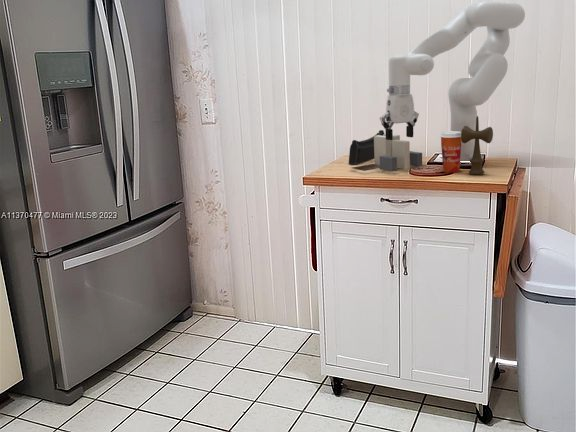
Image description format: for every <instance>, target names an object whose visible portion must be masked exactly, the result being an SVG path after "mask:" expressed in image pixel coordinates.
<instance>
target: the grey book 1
mask: <svg viewBox="0 0 576 432" xmlns="http://www.w3.org/2000/svg"><path fill="white" fill-rule="evenodd" d="M379 170H382V171H389V172H396V171H398V168H397V157H392V156H386V155H383V156H380V168H379Z"/></svg>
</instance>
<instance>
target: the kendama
mask: <svg viewBox="0 0 576 432" xmlns="http://www.w3.org/2000/svg"><path fill="white" fill-rule="evenodd" d="M479 124H480V122H479V115H477V117H476V131H474V130H472V129H471V128H469V127H468V126H464V127H463V129H462V131H461V140H462V142H463V143H467V142H468V141H470V140H472V139H475V145H474V152H473V157H472V159H471V160H470V162H471V165H470V169H469V171H468V174H469V175H473V176H479V175H480V176H481V175H484V174H485V170H484V169H483V164H484V162H485V160H484V158H483V159H482V157H481V156H482V153H481V146H480V145H481V144H480V140H481V141H483V142H484V143H486V144H491V143H492V141H493V138H494V131H493V130H494V129H493V127H492V126H488V127H486V128H484V129H481V130H480V125H479Z"/></svg>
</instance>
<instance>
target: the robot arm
mask: <svg viewBox="0 0 576 432" xmlns="http://www.w3.org/2000/svg"><path fill="white" fill-rule="evenodd" d="M525 17H526V13H525V9H524V8H523V6H522V5H521V4H519V3H516V2H506V1H489V0H482V1H481V0H480V1H476V2H471V3H468V4H466V5H465V6H464V7H462V8H461V9H460V10H459V11H458V12H457V13H456V14H455V15H454V16H453V17H451V18H450V19H449V20H448V22H446V23H445V24H443V26H442V27H441V28H439V29H438V30H437V31H435V32H433V33H432V34H431V35H429V36H428V37H427V38H425V39H424V40H422V41H421V42H420V43H418V44H417V45H416V46H415V47H413V49H412V50H410V51H409V52H408V53H407V54H401V55H399V54H398V55H392V56H389V58H388V88H387V89H386V92H387V93H388V95H387V98H386V105H385V113H383V114H382V115H381V116H380V117H379V121H380V123H381V126H382V127H383V130H384V129H385V130H384V133H385V134H386V140H392V139H393V135H394V133H393V126H394V124H405V123H406V128H405V130H406V132H405V134H406V135H405V136H406V138H414V127H415V126H416V123H417V122H418V119H419V116H420V113H418V111H415V103H414V97H413V94H412V93H411V76H426V75H428V74H430V73H431V72H432V71H433V69H434V67H435V60H434V58H436V57H437V56H438V55H440V54H443V53H446V52H449V51H452V50H453V49H454V48H456V47H457V46H459V44H461V43H462V42H463V41H464V40H465V39H466V38H467V37H468V36H469V35H470V34H472V32H474V31H475V30H476V29H477V28H482V27H486V31H487V35H486V39H485V40H484V43H483V44H482V46H481V47H480V48H479V50H478V51H477V52H476V53H475V55H474V56H473V58H472V59H471V61H470V62H469V65H468V67H467V72H468V75H469V76H470V77H460V78H457V79H455V80H454V81H452V83H451V84H450V85H449V88H448V92H447V93H448V94H447V95H448V103H449V108H450V109H449V110H450V131H459V132H461V131H462V129H463V127H464V126H468V127H469V128H471V129H472V130H474V131H476V117H477V116H478V111H477V106H481V105H483V104H484V103H486V102H487V101H488V100H489V99H490V97H491V96H492V95H493V94H494V92H495V91H496V90H497V88H498V87H499V85H500V84H501V83H502V81H503V79H504V78H505V77H506V75H507V72H508V67H509V64H508V60H507V58H506V57H505V54H506V52H507V51H508V50H509V47H510V44H511V43H510V41H511V37H510V29H511V30H512V29H515V28H518V27H519V26H521V25H522V24H523V22H524V20H525ZM474 145H475V139H472V140H470V141H468V142H467V143H463V142H462V140H461V155H460V161H470V160H471V159H472V157H473V152H474ZM481 157H482V159H483V160H484V155H481ZM468 166H470V167H471V163H469V164H461V163H460V167H468Z"/></svg>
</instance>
